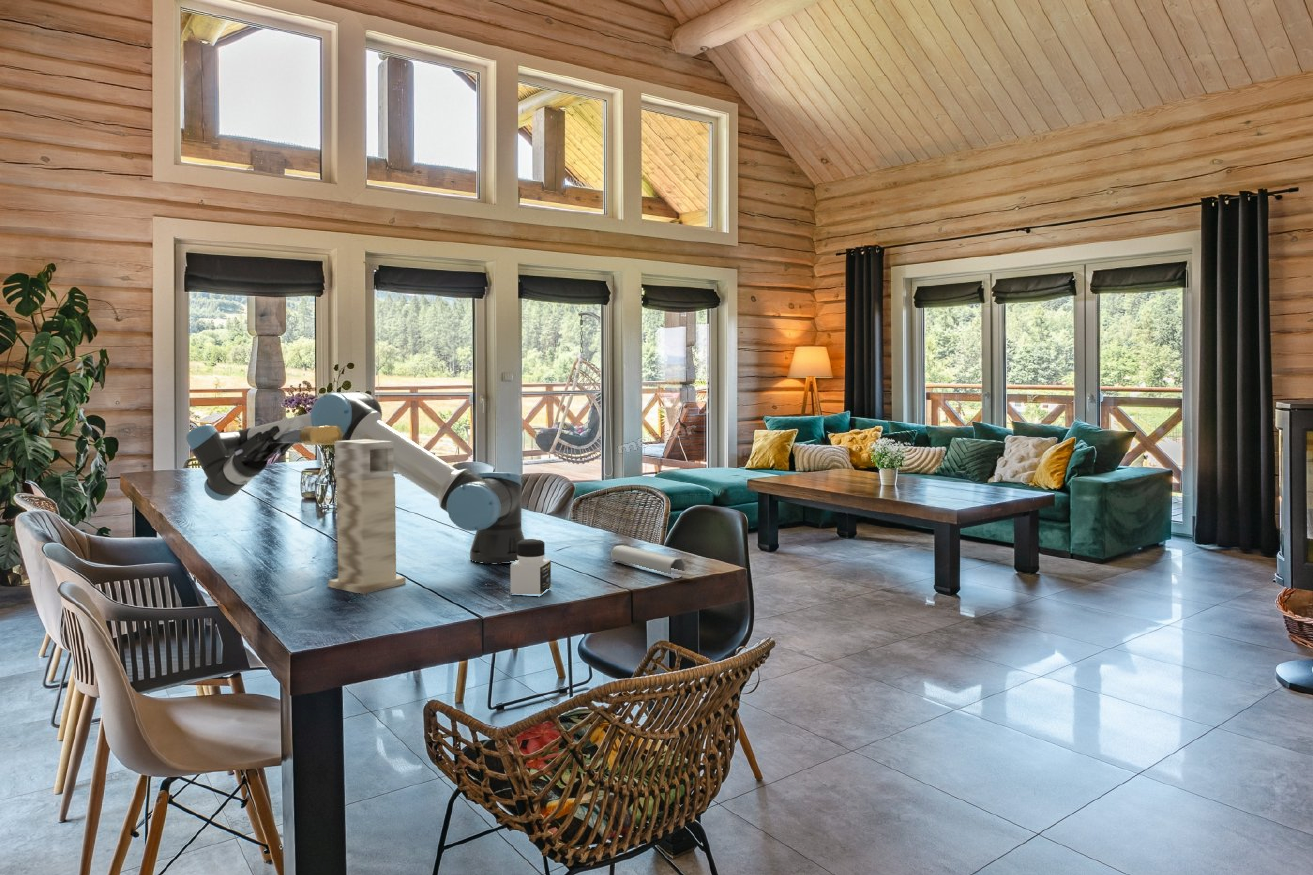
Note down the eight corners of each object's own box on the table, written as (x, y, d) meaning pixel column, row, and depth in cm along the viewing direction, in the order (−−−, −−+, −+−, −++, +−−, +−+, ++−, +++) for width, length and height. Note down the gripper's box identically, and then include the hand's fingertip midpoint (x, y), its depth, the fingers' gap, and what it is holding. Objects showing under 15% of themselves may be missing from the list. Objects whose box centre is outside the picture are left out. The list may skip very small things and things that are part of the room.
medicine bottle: (540, 597, 193) (540, 543, 192) (510, 595, 194) (509, 542, 193) (551, 590, 200) (551, 537, 199) (521, 588, 201) (521, 536, 200)
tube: (604, 548, 229) (667, 563, 210) (620, 539, 232) (683, 554, 213) (609, 566, 231) (672, 583, 212) (625, 558, 234) (688, 573, 215)
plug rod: (260, 446, 218) (259, 428, 218) (276, 445, 222) (275, 427, 222) (327, 445, 204) (326, 426, 204) (343, 444, 208) (342, 425, 208)
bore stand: (328, 586, 201) (325, 441, 198) (371, 576, 211) (369, 438, 208) (363, 594, 194) (361, 444, 192) (405, 583, 204) (404, 441, 202)
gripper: (279, 474, 231) (328, 433, 220) (220, 480, 218) (269, 437, 206) (270, 449, 233) (318, 407, 221) (211, 453, 219) (259, 409, 208)
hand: (294, 421), depth 214 cm, fingers closed on plug rod, 3 cm apart
